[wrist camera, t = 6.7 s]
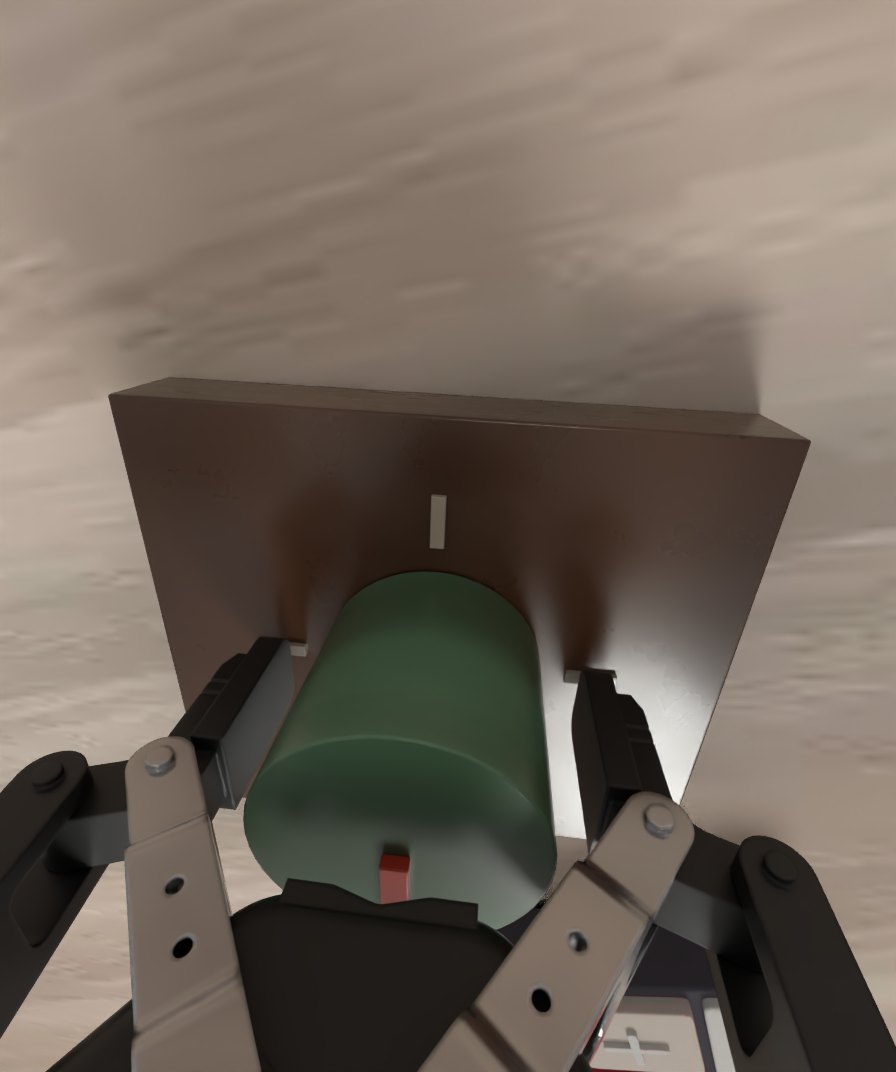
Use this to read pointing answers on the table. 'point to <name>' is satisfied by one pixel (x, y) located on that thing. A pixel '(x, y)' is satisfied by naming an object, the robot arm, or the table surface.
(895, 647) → the table surface
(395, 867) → the knob
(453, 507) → the base
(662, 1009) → the calculator
